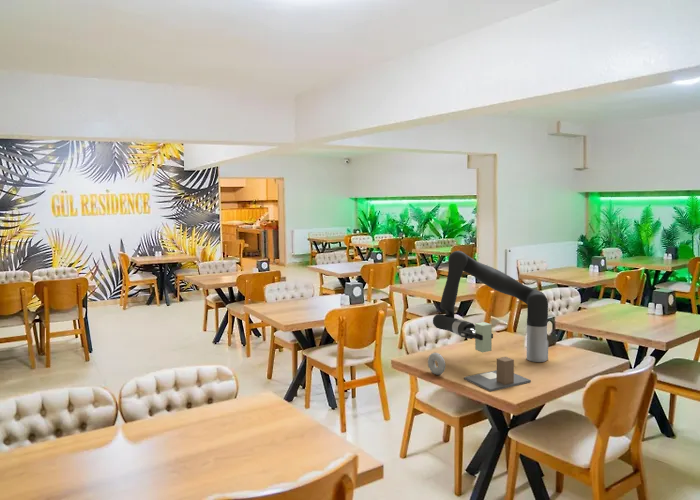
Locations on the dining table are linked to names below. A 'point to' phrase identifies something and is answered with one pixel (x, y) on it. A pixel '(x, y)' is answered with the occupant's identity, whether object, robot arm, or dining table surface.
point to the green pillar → (486, 332)
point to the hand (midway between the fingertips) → (487, 337)
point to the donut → (433, 366)
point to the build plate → (494, 381)
